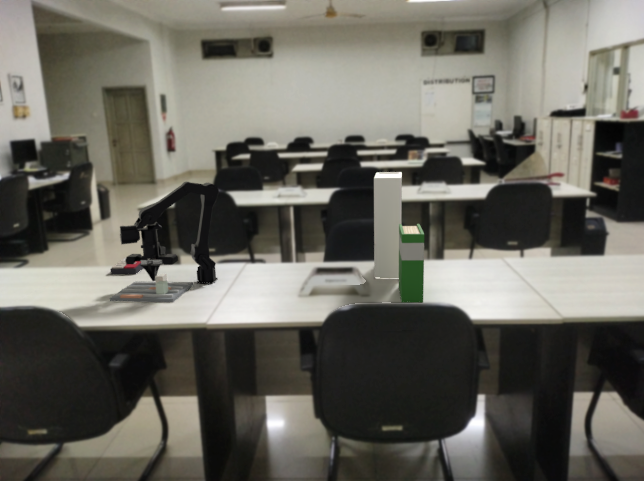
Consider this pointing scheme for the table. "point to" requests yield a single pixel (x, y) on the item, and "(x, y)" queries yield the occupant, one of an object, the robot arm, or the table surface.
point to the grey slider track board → (151, 292)
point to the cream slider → (161, 277)
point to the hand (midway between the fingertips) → (154, 280)
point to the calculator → (126, 267)
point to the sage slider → (162, 287)
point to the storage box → (387, 223)
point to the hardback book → (411, 263)
